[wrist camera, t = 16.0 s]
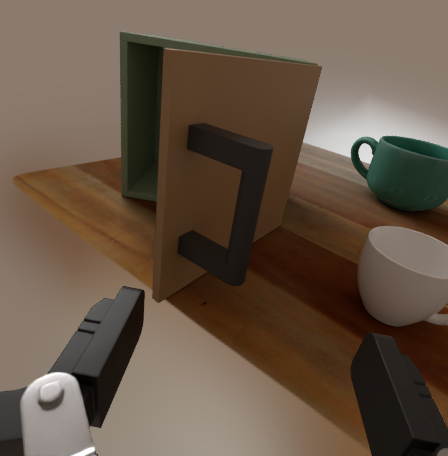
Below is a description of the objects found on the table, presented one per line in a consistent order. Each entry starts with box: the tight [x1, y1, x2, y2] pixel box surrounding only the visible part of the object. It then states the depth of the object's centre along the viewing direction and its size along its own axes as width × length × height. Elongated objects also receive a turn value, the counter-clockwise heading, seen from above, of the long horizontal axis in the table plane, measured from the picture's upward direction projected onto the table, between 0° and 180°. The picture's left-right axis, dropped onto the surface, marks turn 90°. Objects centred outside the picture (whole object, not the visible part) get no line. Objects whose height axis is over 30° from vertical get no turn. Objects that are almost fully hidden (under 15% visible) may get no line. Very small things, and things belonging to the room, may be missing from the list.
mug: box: [351, 136, 448, 211], centre depth 54 cm, size 17×12×10 cm
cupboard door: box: [152, 48, 322, 303], centre depth 29 cm, size 7×21×18 cm, turn 142°
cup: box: [357, 226, 448, 327], centre depth 28 cm, size 8×10×7 cm
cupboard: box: [120, 32, 318, 202], centre depth 44 cm, size 13×21×19 cm, turn 84°
